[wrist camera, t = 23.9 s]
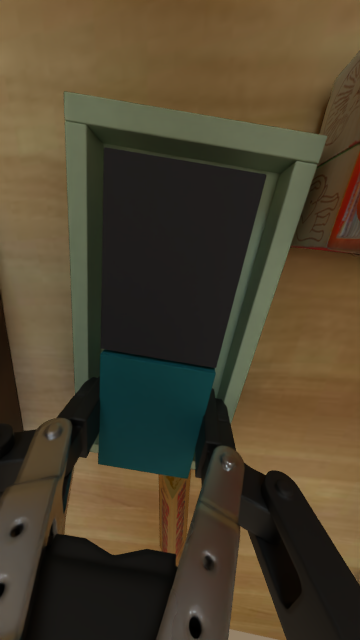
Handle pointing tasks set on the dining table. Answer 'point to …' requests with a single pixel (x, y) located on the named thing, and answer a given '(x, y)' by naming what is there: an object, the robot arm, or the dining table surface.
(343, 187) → the stack of blocks
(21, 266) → the dining table surface
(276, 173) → the tray
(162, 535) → the chocolate bar
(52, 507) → the robot arm
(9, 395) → the stand
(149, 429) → the pad
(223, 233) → the pad
